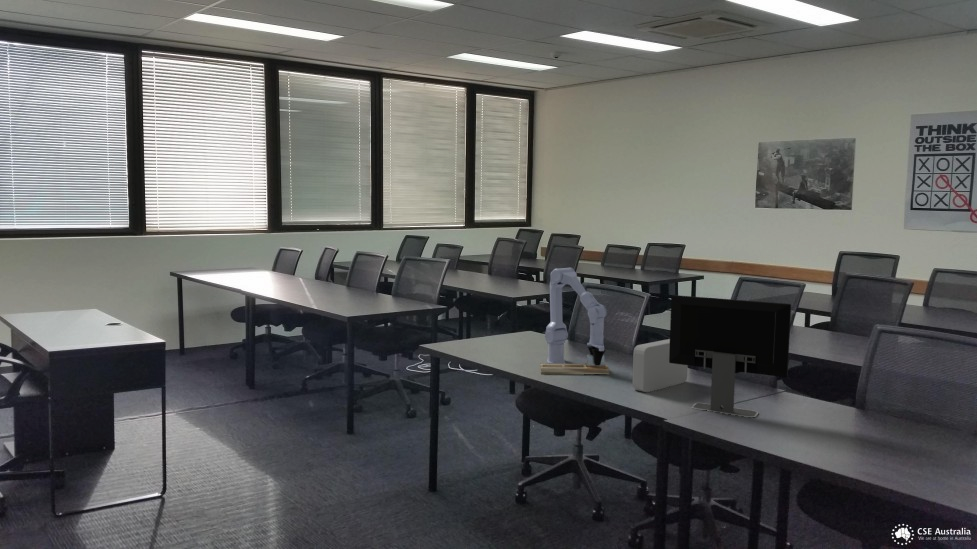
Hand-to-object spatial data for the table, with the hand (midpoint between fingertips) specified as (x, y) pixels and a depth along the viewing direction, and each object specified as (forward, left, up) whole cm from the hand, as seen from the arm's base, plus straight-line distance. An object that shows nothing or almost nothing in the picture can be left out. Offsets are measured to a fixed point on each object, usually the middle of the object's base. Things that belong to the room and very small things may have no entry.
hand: (596, 364), depth 318 cm
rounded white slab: (+22, +24, -4) cm, 32 cm away
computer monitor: (+54, +40, -4) cm, 68 cm away
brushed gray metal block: (0, 0, -3) cm, 3 cm away
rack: (0, -9, -4) cm, 10 cm away
